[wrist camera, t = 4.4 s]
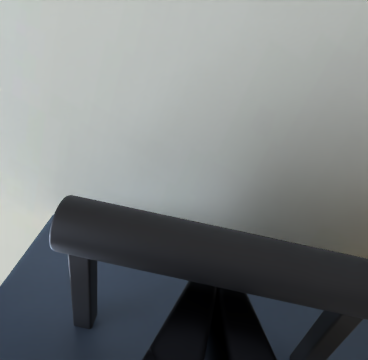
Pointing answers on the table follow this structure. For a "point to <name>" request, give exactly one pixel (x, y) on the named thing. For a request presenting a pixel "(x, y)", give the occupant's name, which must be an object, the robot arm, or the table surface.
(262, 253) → the drawer
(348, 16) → the table surface
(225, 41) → the table surface
